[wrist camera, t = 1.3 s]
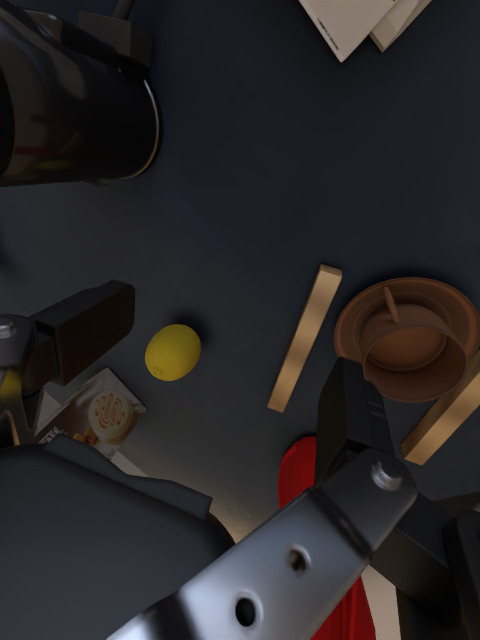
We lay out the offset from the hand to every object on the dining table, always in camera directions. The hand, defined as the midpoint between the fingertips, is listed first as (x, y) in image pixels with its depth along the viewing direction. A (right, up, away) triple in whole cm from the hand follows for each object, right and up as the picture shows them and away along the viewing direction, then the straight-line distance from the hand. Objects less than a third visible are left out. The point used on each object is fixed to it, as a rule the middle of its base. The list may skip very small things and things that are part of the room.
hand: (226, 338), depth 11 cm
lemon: (-6, -1, +25) cm, 26 cm away
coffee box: (-19, -11, +34) cm, 41 cm away
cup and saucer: (+16, 0, +18) cm, 24 cm away
